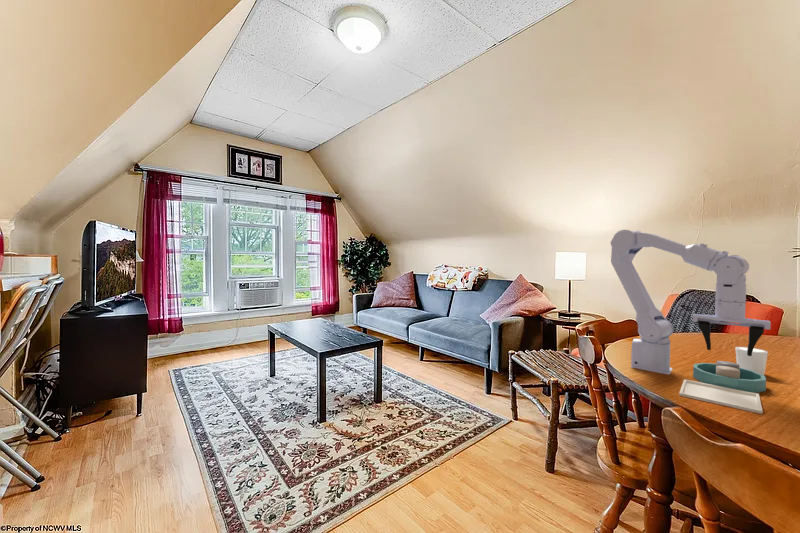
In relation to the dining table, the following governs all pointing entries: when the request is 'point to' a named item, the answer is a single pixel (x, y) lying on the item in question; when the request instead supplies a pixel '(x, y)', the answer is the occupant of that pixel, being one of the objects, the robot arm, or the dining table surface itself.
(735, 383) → the bowl
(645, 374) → the dining table surface
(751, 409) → the parts tray
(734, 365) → the charcoal stone
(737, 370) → the brown stone
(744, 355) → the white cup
